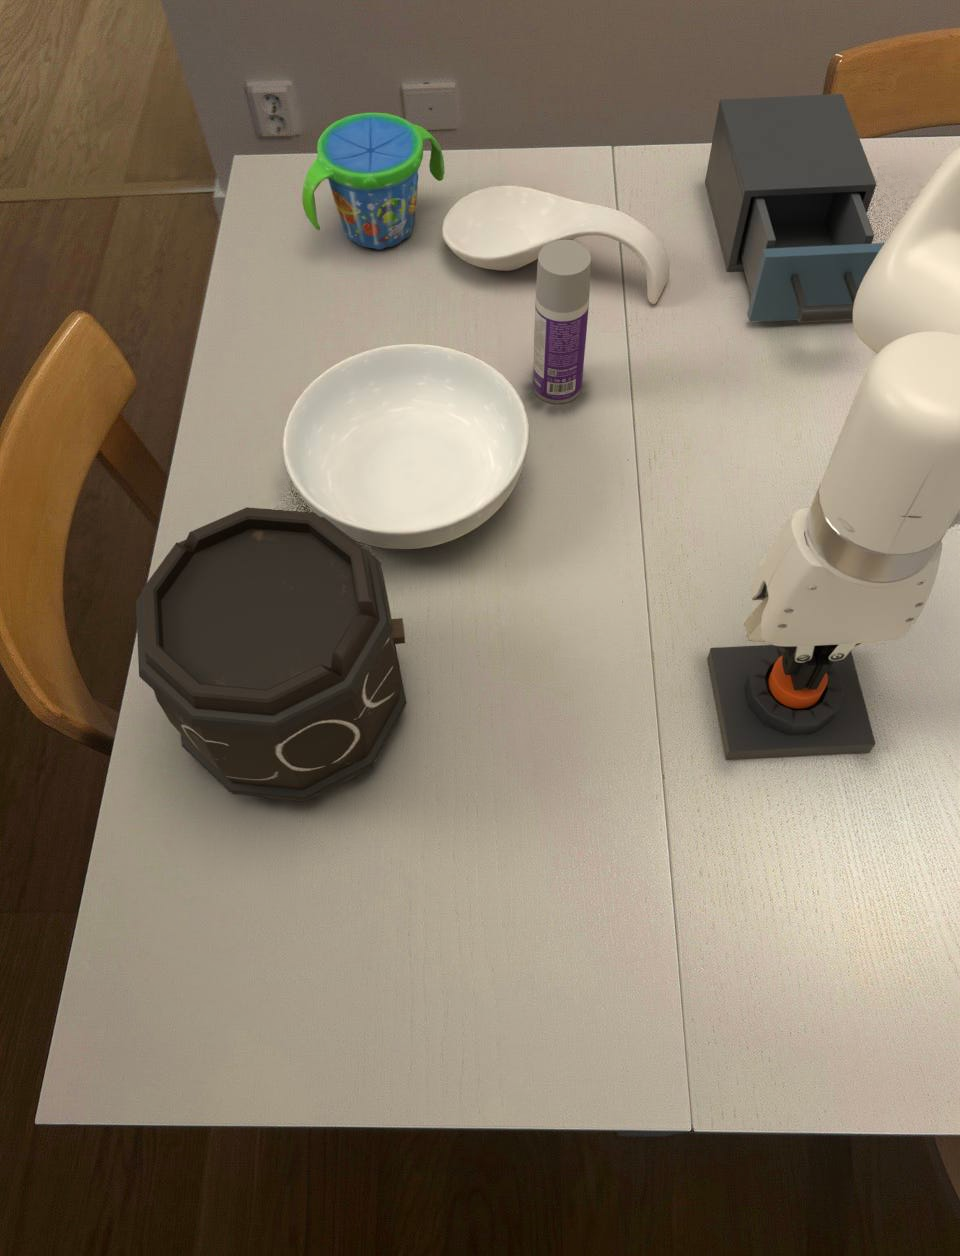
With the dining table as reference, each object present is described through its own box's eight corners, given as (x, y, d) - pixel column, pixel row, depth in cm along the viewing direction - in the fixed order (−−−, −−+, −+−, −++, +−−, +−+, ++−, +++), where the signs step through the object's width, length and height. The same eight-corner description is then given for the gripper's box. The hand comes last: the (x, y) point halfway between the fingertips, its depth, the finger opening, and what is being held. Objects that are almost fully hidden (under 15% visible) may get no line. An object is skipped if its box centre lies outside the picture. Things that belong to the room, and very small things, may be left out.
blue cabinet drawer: (879, 358, 101) (905, 293, 94) (759, 364, 101) (777, 300, 94) (834, 226, 111) (855, 159, 104) (726, 231, 111) (740, 164, 104)
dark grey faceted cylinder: (433, 787, 80) (419, 689, 67) (195, 835, 79) (130, 744, 65) (395, 592, 89) (375, 472, 76) (181, 631, 88) (122, 515, 74)
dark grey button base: (843, 651, 85) (855, 628, 82) (869, 753, 81) (883, 733, 78) (706, 658, 85) (714, 635, 82) (725, 760, 81) (733, 741, 78)
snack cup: (425, 179, 118) (419, 92, 109) (466, 235, 113) (463, 148, 104) (294, 222, 114) (276, 136, 106) (330, 281, 109) (315, 196, 101)
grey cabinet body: (849, 265, 109) (877, 184, 101) (727, 271, 109) (744, 190, 101) (819, 176, 117) (842, 93, 108) (704, 181, 117) (719, 99, 108)
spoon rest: (426, 273, 110) (421, 214, 104) (469, 204, 115) (466, 144, 109) (646, 330, 105) (655, 271, 99) (679, 255, 110) (690, 195, 104)
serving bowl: (261, 447, 98) (245, 394, 92) (463, 368, 103) (460, 313, 97) (352, 616, 88) (341, 569, 82) (570, 520, 93) (575, 469, 87)
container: (590, 379, 102) (602, 249, 89) (567, 410, 100) (576, 283, 87) (547, 361, 103) (553, 231, 90) (523, 392, 101) (526, 264, 88)
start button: (815, 661, 82) (821, 649, 80) (827, 707, 79) (833, 696, 78) (763, 663, 81) (768, 652, 80) (773, 710, 79) (778, 699, 78)
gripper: (981, 467, 65) (888, 625, 81) (738, 478, 65) (692, 634, 80) (1020, 567, 61) (914, 713, 77) (760, 580, 61) (708, 723, 77)
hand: (800, 672), depth 79 cm, fingers closed
